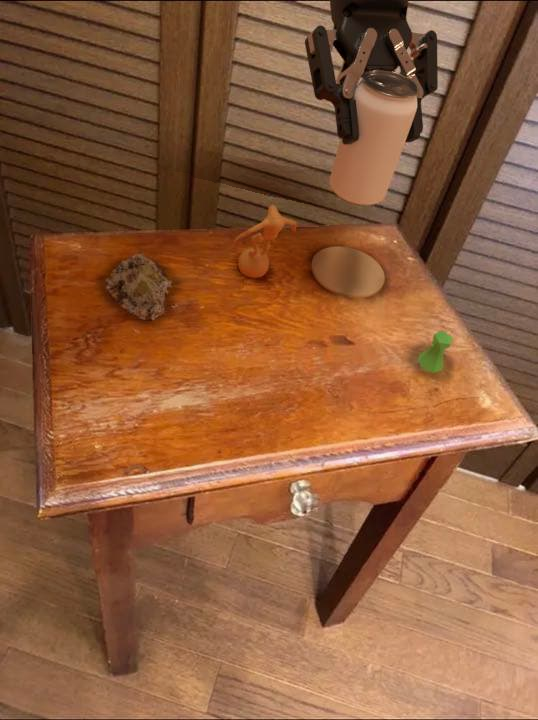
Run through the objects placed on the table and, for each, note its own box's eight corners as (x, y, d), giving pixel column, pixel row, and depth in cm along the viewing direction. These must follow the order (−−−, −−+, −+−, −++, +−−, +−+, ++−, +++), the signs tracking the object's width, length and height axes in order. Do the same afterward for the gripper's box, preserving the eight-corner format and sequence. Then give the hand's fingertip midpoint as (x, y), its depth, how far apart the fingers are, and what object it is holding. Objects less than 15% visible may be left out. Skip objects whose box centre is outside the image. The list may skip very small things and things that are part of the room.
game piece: (413, 381, 69) (432, 346, 65) (406, 353, 72) (423, 319, 67) (447, 383, 70) (468, 349, 65) (439, 356, 72) (459, 322, 68)
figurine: (272, 260, 79) (289, 182, 71) (293, 289, 76) (313, 211, 67) (216, 271, 76) (226, 191, 67) (235, 302, 73) (248, 222, 64)
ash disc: (307, 296, 76) (310, 287, 75) (310, 249, 82) (313, 240, 81) (383, 310, 76) (386, 301, 75) (379, 262, 83) (383, 253, 82)
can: (353, 168, 68) (385, 62, 59) (396, 196, 66) (436, 90, 57) (316, 184, 65) (344, 74, 56) (360, 214, 62) (397, 104, 53)
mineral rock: (93, 256, 71) (157, 237, 71) (105, 281, 74) (166, 262, 75) (109, 321, 65) (179, 299, 66) (121, 345, 68) (187, 323, 69)
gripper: (315, -64, 51) (336, 132, 53) (450, -51, 56) (464, 129, 58) (282, -19, 58) (302, 154, 60) (405, -11, 63) (420, 149, 65)
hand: (382, 141), depth 59 cm, fingers closed on can, 6 cm apart
